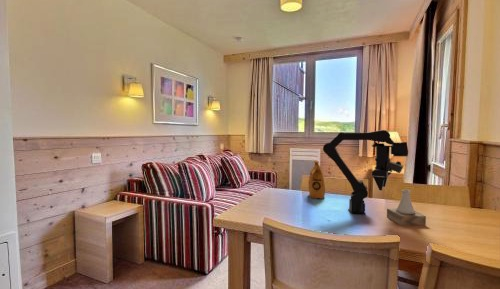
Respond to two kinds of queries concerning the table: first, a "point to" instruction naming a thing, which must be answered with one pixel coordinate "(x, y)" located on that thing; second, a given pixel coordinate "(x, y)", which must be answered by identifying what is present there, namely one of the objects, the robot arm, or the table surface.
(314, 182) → the coffee package
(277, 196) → the table surface
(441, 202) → the table surface
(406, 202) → the flask
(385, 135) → the robot arm
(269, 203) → the table surface
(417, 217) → the walnut block
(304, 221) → the table surface
